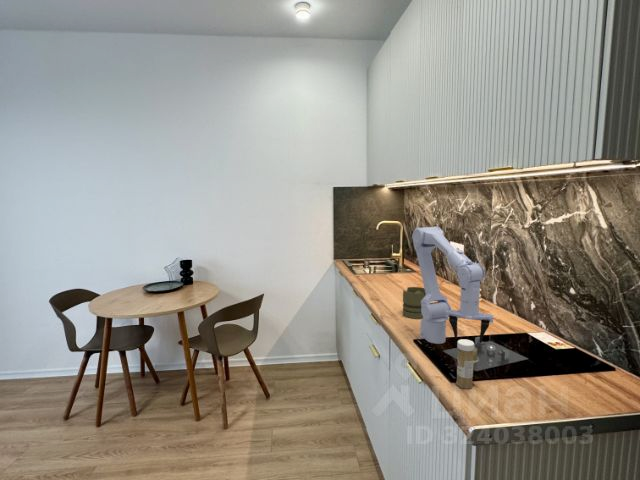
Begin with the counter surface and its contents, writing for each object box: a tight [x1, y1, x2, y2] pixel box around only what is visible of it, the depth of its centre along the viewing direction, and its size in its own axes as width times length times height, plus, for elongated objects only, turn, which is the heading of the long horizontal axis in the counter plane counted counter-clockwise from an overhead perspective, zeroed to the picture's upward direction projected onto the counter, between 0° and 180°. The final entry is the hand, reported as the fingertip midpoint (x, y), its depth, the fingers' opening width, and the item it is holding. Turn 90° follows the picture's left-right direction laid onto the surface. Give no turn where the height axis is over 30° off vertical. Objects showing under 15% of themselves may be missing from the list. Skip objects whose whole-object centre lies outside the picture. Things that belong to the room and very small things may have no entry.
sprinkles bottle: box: [456, 338, 475, 389], centre depth 107 cm, size 5×5×13 cm
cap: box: [473, 346, 477, 361], centre depth 123 cm, size 9×6×4 cm, turn 154°
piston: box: [402, 286, 426, 320], centre depth 169 cm, size 11×12×11 cm
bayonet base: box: [442, 336, 529, 372], centre depth 125 cm, size 16×22×4 cm
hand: (468, 339), depth 122 cm, fingers open, 7 cm apart
